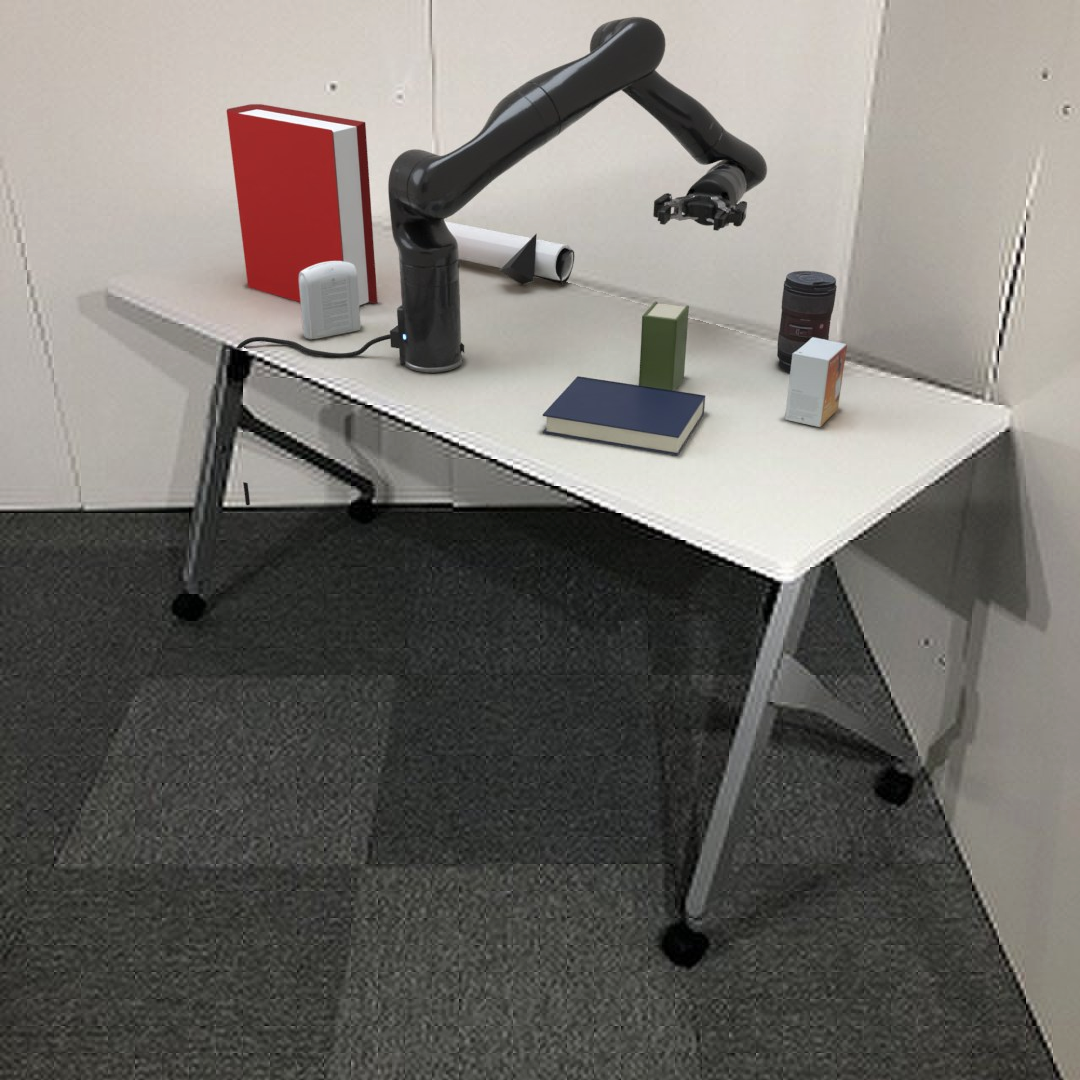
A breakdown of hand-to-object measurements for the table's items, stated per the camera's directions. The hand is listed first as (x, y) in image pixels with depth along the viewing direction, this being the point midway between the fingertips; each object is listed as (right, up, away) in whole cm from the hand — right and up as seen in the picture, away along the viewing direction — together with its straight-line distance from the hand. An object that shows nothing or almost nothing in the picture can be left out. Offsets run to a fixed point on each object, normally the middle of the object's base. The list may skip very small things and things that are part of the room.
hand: (689, 221), depth 185 cm
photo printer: (-59, -14, +22) cm, 64 cm away
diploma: (-34, +3, +50) cm, 60 cm away
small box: (+17, -31, -7) cm, 36 cm away
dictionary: (-4, -25, +3) cm, 25 cm away
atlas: (-11, -32, -10) cm, 35 cm away
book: (-66, -4, +39) cm, 77 cm away
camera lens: (+19, -21, +9) cm, 30 cm away
